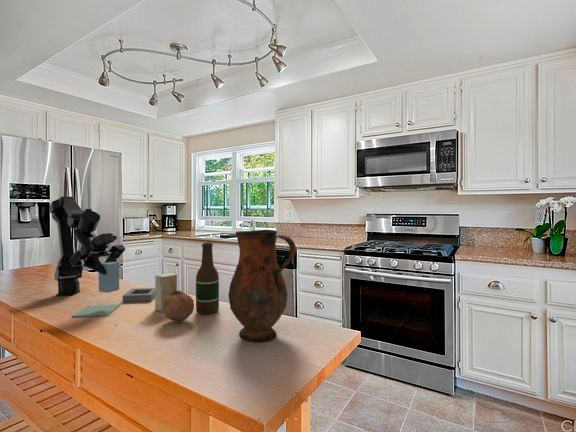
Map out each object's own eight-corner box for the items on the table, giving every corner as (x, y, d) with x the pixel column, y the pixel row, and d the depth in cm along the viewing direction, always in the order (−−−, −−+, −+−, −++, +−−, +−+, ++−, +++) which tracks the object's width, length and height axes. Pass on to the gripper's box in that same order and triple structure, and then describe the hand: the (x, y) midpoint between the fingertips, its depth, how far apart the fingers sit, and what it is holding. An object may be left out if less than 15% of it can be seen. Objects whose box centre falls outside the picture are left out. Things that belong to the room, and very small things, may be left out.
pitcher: (255, 320, 103) (255, 227, 102) (310, 336, 90) (311, 230, 89) (215, 337, 90) (214, 230, 89) (273, 359, 77) (274, 235, 76)
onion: (160, 328, 95) (160, 295, 95) (164, 318, 105) (163, 287, 104) (193, 325, 98) (193, 293, 98) (194, 315, 107) (194, 286, 107)
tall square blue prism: (98, 291, 113) (98, 263, 112) (109, 288, 117) (109, 261, 117) (108, 292, 111) (108, 264, 111) (119, 289, 115) (118, 262, 115)
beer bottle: (191, 312, 110) (190, 243, 109) (206, 306, 117) (206, 241, 116) (208, 316, 106) (208, 244, 105) (223, 310, 113) (223, 242, 112)
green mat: (72, 317, 105) (72, 315, 105) (88, 306, 116) (88, 305, 116) (107, 315, 106) (107, 314, 106) (120, 305, 117) (120, 304, 117)
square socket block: (122, 302, 121) (122, 295, 121) (132, 294, 132) (132, 288, 132) (151, 301, 123) (151, 294, 123) (158, 293, 133) (158, 287, 133)
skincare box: (161, 312, 110) (161, 277, 110) (154, 309, 113) (154, 275, 113) (177, 307, 115) (177, 273, 115) (170, 305, 118) (170, 272, 118)
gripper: (74, 226, 106) (99, 262, 102) (121, 223, 123) (144, 253, 120) (58, 249, 109) (82, 284, 105) (106, 243, 126) (128, 273, 123)
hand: (111, 272), depth 113 cm, fingers closed on tall square blue prism, 4 cm apart
